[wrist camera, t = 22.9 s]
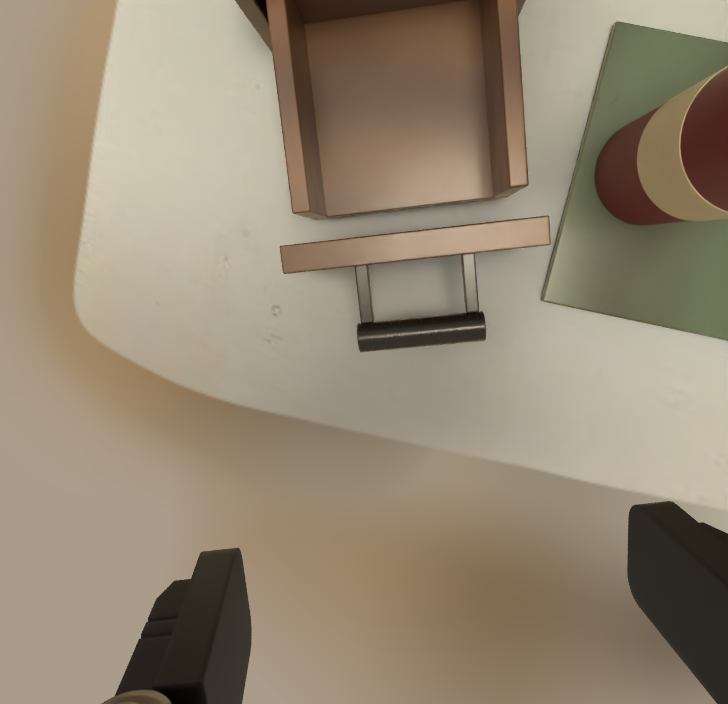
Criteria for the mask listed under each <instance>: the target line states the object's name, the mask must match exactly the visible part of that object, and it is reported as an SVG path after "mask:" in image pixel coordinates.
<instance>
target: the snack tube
mask: <svg viewBox="0 0 728 704" xmlns="http://www.w3.org/2000/svg"><path fill="white" fill-rule="evenodd" d="M595 185H596V190H597V193H598V196H599V198H600V200H601V202H602V203H603V205H604V206H605V208H606V209H607V210H608V211H609V212H610V213H611V214H612V215H614V216H615V217H616V218H618V219H620V220H622V221H624V222H627V223H630V224H634V225H655V224H666V223H676V222H687V221H710V220H721V219H728V66H726V67H724V68H723V69H721V70H719V71H717V72H716V73H714V74H712V75H711V76H709V77H707V78H705V79H704V80H702V81H700V82H698V83H697V84H695V85H693V86H691V87H690V88H688V89H686V90H685V91H683V92H681V93H679V94H678V95H676V96H674V97H673V98H671V99H670V100H668V101H667V102H666V103H664V104H663V105H661V106H659V107H657V108H656V109H654V110H652V111H650V112H649V113H647V114H645V115H643V116H642V117H640V118H638V119H636V120H635V121H633V122H631V123H629V124H628V125H626V126H624V127H623V128H621V129H620V130H618V131H617V132H616V133H615V134H614V135H613V136H612V137H611V138H610V139H609V140H608V141H607V142H606V144H605V145H604V147H603V149H602V150H601V152H600V155H599V157H598V160H597V163H596V168H595Z"/></svg>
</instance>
